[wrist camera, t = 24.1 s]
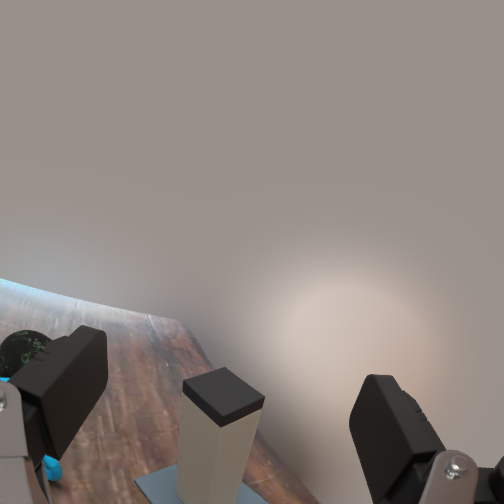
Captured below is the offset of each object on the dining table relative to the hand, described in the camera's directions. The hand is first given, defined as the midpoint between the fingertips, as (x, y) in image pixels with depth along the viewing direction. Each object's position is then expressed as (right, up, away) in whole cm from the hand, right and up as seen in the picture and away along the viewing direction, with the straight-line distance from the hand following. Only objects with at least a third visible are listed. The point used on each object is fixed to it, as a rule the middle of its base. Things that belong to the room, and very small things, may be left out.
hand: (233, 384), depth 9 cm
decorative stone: (-28, -16, +24) cm, 40 cm away
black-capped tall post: (-4, -21, +16) cm, 27 cm away
